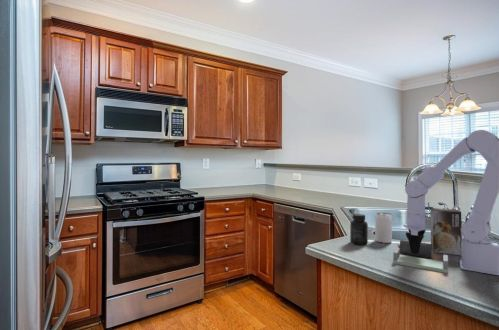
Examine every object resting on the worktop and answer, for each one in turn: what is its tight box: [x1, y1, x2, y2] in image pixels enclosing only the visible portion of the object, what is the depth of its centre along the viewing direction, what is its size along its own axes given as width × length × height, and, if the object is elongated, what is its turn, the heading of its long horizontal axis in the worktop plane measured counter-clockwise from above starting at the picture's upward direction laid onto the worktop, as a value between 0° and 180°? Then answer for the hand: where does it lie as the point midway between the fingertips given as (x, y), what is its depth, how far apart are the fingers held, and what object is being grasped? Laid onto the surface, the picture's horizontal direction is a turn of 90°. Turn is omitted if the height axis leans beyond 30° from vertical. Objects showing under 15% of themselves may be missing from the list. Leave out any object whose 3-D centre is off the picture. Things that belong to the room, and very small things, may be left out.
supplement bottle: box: [349, 213, 369, 247], centre depth 120 cm, size 7×7×12 cm
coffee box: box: [430, 207, 463, 256], centre depth 109 cm, size 9×6×16 cm
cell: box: [397, 239, 433, 259], centre depth 105 cm, size 11×5×5 cm, turn 56°
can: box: [374, 212, 393, 244], centre depth 123 cm, size 6×6×12 cm
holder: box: [392, 247, 449, 274], centre depth 96 cm, size 15×8×4 cm, turn 56°
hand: (415, 250), depth 105 cm, fingers open, 7 cm apart
